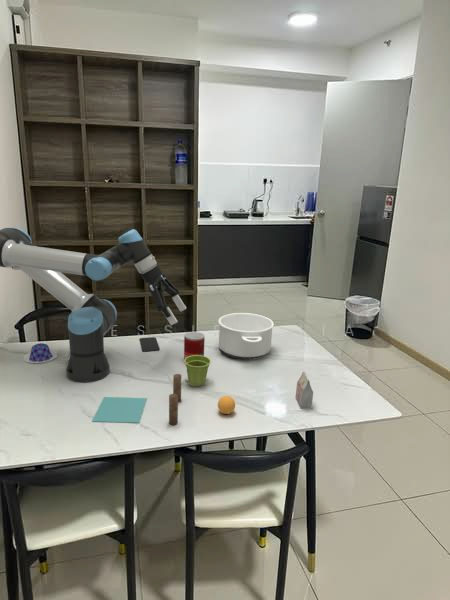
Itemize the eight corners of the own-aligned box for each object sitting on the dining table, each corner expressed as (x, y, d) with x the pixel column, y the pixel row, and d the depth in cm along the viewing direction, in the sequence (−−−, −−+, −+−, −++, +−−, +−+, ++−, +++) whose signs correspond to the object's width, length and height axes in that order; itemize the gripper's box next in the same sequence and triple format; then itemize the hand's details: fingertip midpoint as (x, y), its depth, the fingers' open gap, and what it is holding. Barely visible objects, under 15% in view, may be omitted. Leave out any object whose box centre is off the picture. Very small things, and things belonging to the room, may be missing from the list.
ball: (217, 417, 128) (218, 401, 126) (217, 407, 133) (218, 392, 131) (235, 417, 128) (236, 401, 126) (234, 407, 133) (235, 392, 132)
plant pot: (213, 379, 151) (214, 357, 149) (204, 391, 143) (204, 368, 140) (190, 374, 154) (190, 353, 151) (179, 385, 145) (179, 363, 143)
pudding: (23, 366, 155) (22, 353, 153) (24, 353, 165) (23, 341, 164) (58, 362, 160) (57, 349, 158) (56, 350, 170) (55, 338, 168)
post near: (168, 424, 122) (168, 398, 120) (169, 419, 125) (169, 393, 122) (177, 425, 123) (177, 398, 120) (178, 420, 125) (178, 393, 122)
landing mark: (91, 421, 122) (91, 421, 122) (104, 397, 136) (103, 396, 136) (139, 423, 123) (139, 422, 123) (146, 398, 136) (146, 398, 136)
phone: (155, 336, 187) (160, 349, 173) (155, 338, 187) (160, 351, 173) (139, 338, 185) (142, 351, 171) (139, 339, 185) (142, 353, 171)
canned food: (203, 365, 162) (203, 339, 158) (182, 364, 162) (183, 338, 159) (204, 357, 169) (205, 332, 166) (184, 356, 169) (185, 331, 166)
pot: (212, 337, 191) (214, 309, 187) (262, 336, 194) (264, 309, 190) (222, 369, 159) (223, 336, 155) (281, 368, 163) (284, 335, 159)
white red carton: (306, 398, 141) (309, 371, 138) (311, 408, 135) (314, 381, 132) (295, 397, 141) (298, 371, 138) (300, 408, 135) (303, 381, 132)
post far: (172, 402, 135) (172, 377, 132) (173, 398, 137) (173, 373, 134) (180, 402, 135) (181, 377, 132) (181, 398, 137) (181, 374, 135)
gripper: (146, 274, 140) (178, 325, 145) (166, 256, 164) (194, 300, 168) (128, 283, 143) (161, 334, 148) (151, 264, 166) (179, 308, 171)
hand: (179, 316), depth 158 cm, fingers open, 13 cm apart
